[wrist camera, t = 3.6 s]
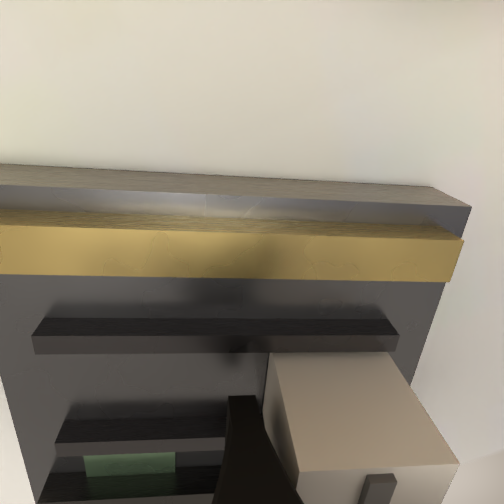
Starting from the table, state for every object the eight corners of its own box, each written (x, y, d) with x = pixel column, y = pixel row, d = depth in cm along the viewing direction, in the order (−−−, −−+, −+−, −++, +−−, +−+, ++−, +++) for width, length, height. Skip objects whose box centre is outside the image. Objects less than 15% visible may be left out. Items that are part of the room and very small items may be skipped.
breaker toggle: (382, 344, 12) (466, 472, 8) (364, 408, 13) (428, 546, 9) (270, 344, 11) (301, 481, 7) (262, 411, 12) (285, 558, 9)
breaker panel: (432, 187, 12) (497, 219, 9) (357, 443, 17) (385, 512, 14) (-7, 163, 10) (-84, 194, 7) (56, 455, 15) (23, 537, 12)
